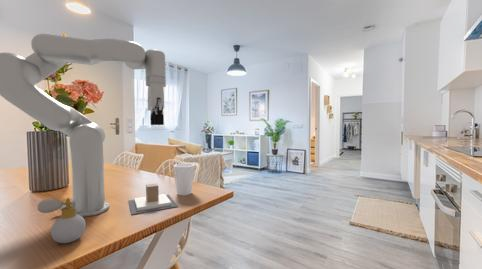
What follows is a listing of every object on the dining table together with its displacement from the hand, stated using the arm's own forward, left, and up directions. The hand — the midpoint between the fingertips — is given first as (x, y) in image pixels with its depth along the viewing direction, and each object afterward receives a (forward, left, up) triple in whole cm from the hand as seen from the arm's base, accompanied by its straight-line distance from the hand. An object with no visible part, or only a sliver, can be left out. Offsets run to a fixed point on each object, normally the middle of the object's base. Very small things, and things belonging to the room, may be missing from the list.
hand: (157, 124), depth 91 cm
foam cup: (+12, +5, -32) cm, 34 cm away
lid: (-3, -3, -31) cm, 31 cm away
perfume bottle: (-28, -22, -32) cm, 47 cm away
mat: (-3, -3, -31) cm, 32 cm away
